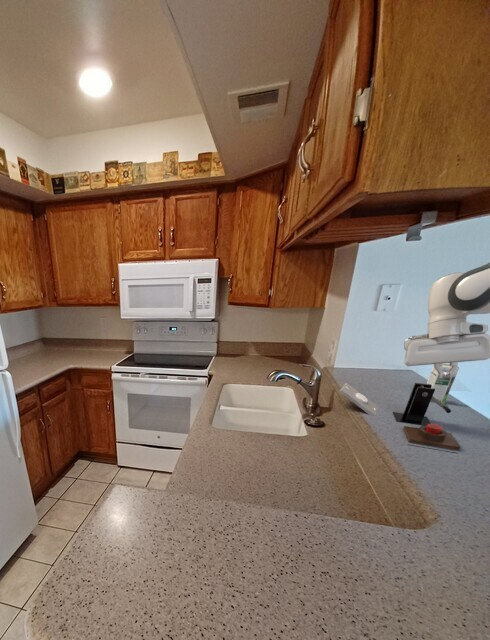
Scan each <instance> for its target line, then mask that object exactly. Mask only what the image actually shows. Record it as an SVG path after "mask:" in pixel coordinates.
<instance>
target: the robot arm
mask: <svg viewBox="0 0 490 640" xmlns="http://www.w3.org/2000/svg"><path fill="white" fill-rule="evenodd" d="M428 292H429V293H428V301H427V312H428V321H427V333H426V334H420V335H411V336H409V337H408V338H406V339H405V340H404V342H403V348H404V350H405V356H404V366H406V367H416V366H428V365H429V366H430V365H433V366H434V368H435V369H436V371H437V372H438V373H439V379H442V378H452V377H453V371H454V370H455V369H456V367H457V366H458V365H459V363H465V362H466V363H467V362H477V361H486V360H489V359H490V334H488V333H487V332H488V331H489V325H488V324H484V323H474V322H468V321H467V317H468V316H470V315H488V314H490V262H488V263H486V264H484V265H482V266H479V267H476V268H473V269H470V270H468V271H466V272H464V273H463V272H454V273H449V274H447V275H444V276H442V277H440V278H437V280H435V281H434V282H433V283H432V285H431V286H430V288H429V291H428ZM442 363H447V364H450V367H451V366H452V367H451V369H450V370H449V372H443V371H442V370H441V368H440V367H442ZM458 367H459V366H458Z"/></svg>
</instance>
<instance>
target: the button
mask: <svg viewBox="0 0 490 640" xmlns="http://www.w3.org/2000/svg"><path fill="white" fill-rule="evenodd" d="M425 430H426V431H428V432H430V433H434V434H440V433H441V431H442V430H443V427H442V426H441V425H440V424H436V423H431V424H428V425H427V427H426V429H425Z"/></svg>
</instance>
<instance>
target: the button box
mask: <svg viewBox="0 0 490 640" xmlns="http://www.w3.org/2000/svg"><path fill="white" fill-rule="evenodd" d="M426 427H427V425H426V426H422V425H420V426H419V427H415V426H407V425H403V428H402V431H403V433H404V435H405V438H406V440H407V442H408V443H410V444H406V446H410V447H411V446H412V447H418V448H421V449H422V448H423V449H429V450H435V451H441V452H447V453H450V454H451V453H452V454H457V452H458V451H460V449H461V446H460V444H459V443H458V441H457V439H456V438H455V437H454V435H453V434H452V432H447V431H446V430H445V429H442V431H441V433H440V434H434V433H430V432H428V431H426V430H425V429H426ZM414 444H416V445H414ZM418 445H422V446H418ZM425 446H427V447H425ZM431 447H434V448H431ZM437 448H438V449H437ZM439 448H441V449H439ZM443 449H446V450H443ZM449 450H450V451H449ZM455 451H457V452H455Z"/></svg>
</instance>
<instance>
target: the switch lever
mask: <svg viewBox="0 0 490 640" xmlns="http://www.w3.org/2000/svg"><path fill="white" fill-rule="evenodd" d="M420 387H424V386H423V385H421V386H420ZM425 388H426V387H425ZM416 390H417V389H416ZM416 390H415V391H416ZM431 400H432V401H433V402H435V403H434V404H436V405H437V406H439V407H440V408H441V409H443V410H444V412H445V413H447V414H450V413H451V412H452V410H451V408H450V407H449V406H448V405H447V404H446V403H444V404H443V403H442V402H440V401H439V400H437V399H436V398H435V397H433V396H432V399H431Z"/></svg>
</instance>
